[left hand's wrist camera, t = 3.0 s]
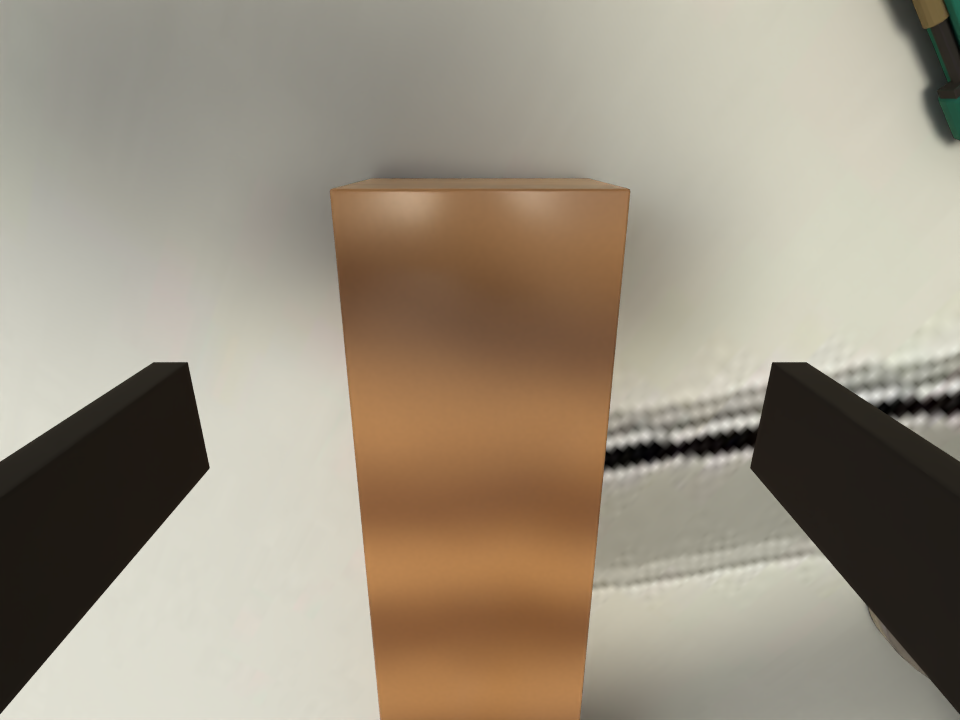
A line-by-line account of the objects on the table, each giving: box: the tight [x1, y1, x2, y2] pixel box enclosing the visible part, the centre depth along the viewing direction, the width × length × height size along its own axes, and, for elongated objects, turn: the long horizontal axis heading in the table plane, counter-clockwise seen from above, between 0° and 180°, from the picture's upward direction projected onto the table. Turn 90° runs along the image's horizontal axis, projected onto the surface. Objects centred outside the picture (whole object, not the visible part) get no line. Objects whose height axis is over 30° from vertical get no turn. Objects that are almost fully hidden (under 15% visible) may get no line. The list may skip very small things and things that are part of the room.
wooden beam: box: [330, 178, 630, 720], centre depth 32 cm, size 55×10×7 cm, turn 0°
